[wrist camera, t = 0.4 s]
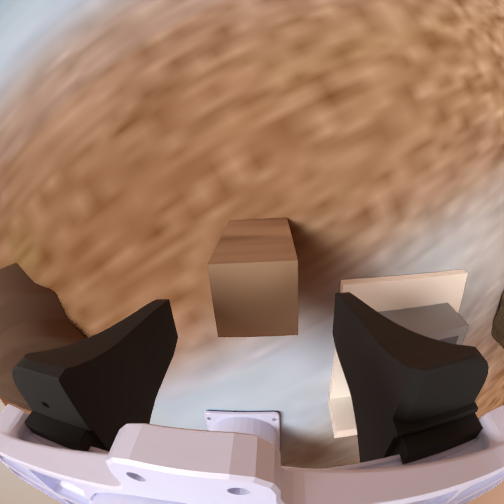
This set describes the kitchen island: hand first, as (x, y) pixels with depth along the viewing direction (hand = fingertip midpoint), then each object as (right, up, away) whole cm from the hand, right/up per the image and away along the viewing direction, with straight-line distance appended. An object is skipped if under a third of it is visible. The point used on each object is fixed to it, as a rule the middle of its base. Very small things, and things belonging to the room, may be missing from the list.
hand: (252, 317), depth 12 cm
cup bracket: (+13, -6, +11) cm, 18 cm away
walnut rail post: (+1, +3, +9) cm, 9 cm away
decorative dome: (-27, -7, +15) cm, 31 cm away
